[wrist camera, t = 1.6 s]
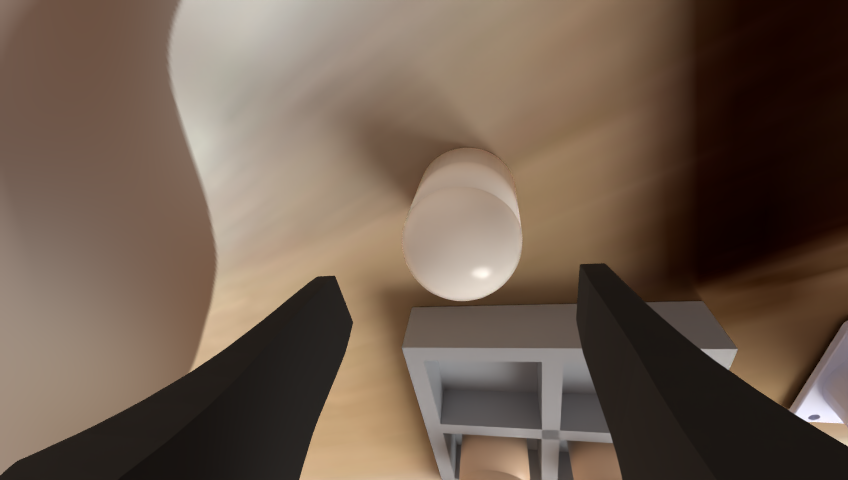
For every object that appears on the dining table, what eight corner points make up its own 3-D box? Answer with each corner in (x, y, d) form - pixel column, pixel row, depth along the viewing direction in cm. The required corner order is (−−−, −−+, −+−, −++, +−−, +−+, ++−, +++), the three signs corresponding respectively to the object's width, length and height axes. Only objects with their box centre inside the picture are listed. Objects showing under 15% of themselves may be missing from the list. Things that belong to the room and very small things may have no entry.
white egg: (513, 141, 15) (526, 212, 10) (517, 230, 17) (529, 326, 12) (412, 153, 16) (374, 224, 11) (428, 236, 18) (404, 327, 13)
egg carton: (702, 301, 18) (803, 439, 12) (638, 500, 29) (674, 618, 23) (412, 307, 21) (383, 417, 15) (457, 483, 32) (451, 583, 27)
